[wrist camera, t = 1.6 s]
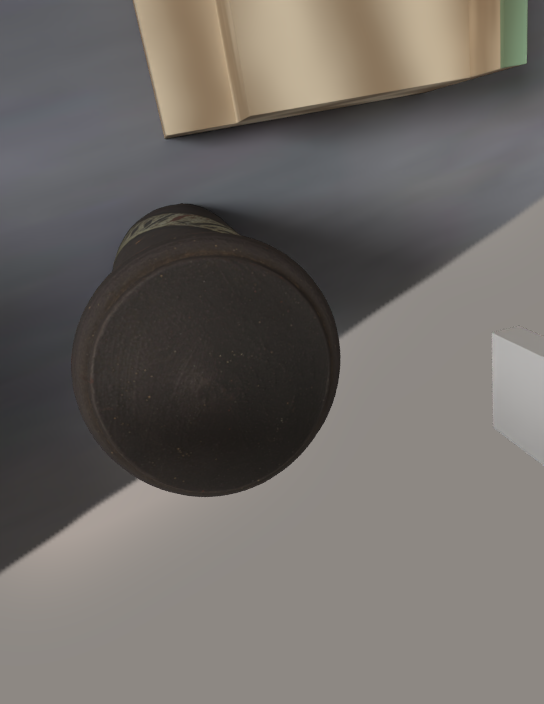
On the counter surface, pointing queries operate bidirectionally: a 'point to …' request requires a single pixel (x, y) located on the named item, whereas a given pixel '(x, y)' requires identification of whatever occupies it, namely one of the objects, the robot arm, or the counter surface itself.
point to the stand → (315, 54)
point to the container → (204, 356)
